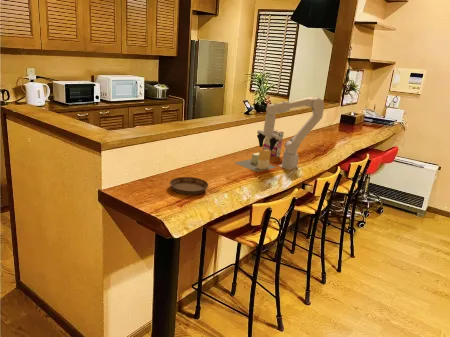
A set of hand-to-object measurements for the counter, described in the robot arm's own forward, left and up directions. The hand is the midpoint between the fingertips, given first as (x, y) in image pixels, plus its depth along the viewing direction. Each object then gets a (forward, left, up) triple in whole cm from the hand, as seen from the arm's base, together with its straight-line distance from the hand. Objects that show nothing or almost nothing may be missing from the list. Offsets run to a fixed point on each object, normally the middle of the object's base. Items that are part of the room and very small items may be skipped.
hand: (265, 148), depth 216 cm
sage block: (+1, -4, -10) cm, 11 cm away
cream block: (+6, +5, -10) cm, 12 cm away
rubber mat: (+6, -1, -10) cm, 12 cm away
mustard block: (+6, +5, -4) cm, 9 cm away
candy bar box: (-21, -11, -10) cm, 26 cm away
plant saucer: (+63, +8, -10) cm, 65 cm away
